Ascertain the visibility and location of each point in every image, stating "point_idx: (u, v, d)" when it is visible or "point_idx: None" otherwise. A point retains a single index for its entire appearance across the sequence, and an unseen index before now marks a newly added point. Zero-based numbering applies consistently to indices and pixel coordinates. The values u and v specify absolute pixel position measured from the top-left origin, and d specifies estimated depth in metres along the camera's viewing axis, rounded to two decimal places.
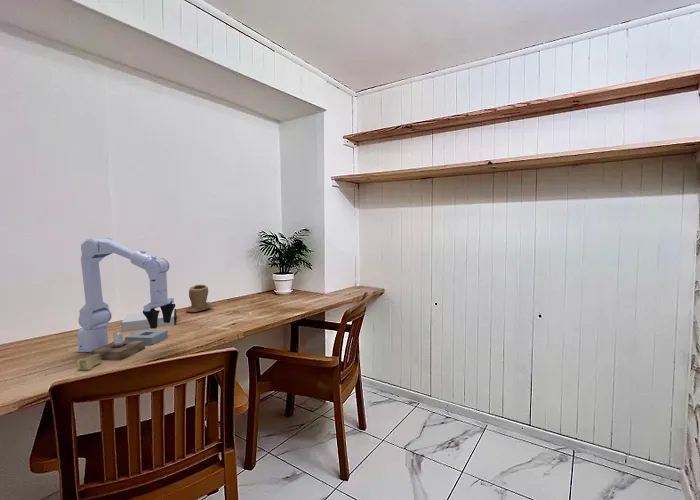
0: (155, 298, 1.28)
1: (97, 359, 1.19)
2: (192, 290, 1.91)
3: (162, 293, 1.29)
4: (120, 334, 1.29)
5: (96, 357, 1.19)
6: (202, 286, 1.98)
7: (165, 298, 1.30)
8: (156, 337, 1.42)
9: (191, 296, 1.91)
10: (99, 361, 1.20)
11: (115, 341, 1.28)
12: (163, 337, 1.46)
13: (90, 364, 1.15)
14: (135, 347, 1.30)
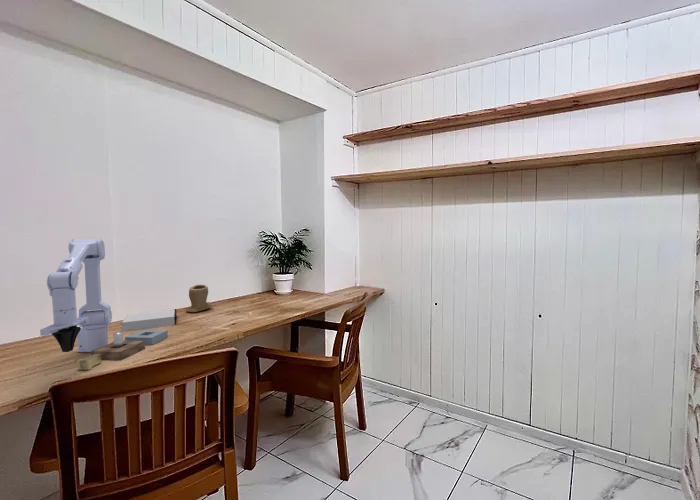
0: (58, 319, 1.06)
1: (97, 359, 1.19)
2: (192, 290, 1.91)
3: (67, 312, 1.07)
4: (120, 334, 1.29)
5: (96, 357, 1.19)
6: (202, 286, 1.98)
7: (72, 318, 1.08)
8: (156, 337, 1.42)
9: (191, 296, 1.91)
10: (99, 361, 1.20)
11: (115, 341, 1.28)
12: (163, 337, 1.46)
13: (90, 364, 1.15)
14: (135, 347, 1.30)
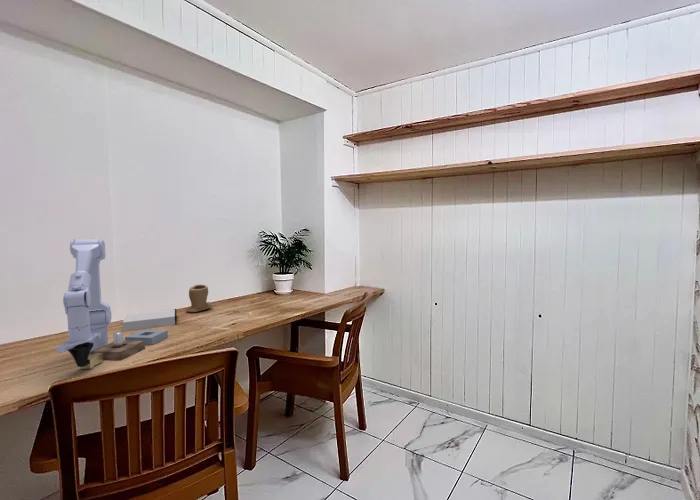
0: (73, 336, 1.11)
1: (99, 358, 1.20)
2: (192, 290, 1.91)
3: (81, 329, 1.12)
4: (120, 334, 1.29)
5: (98, 356, 1.19)
6: (202, 286, 1.98)
7: (86, 335, 1.13)
8: (156, 337, 1.42)
9: (191, 296, 1.91)
10: (101, 360, 1.20)
11: (115, 341, 1.28)
12: (163, 337, 1.46)
13: (92, 363, 1.16)
14: (135, 347, 1.30)
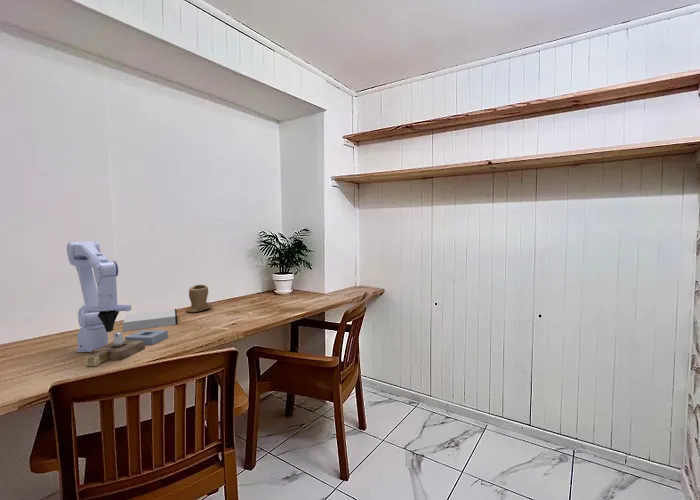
0: None
1: (105, 356, 1.22)
2: (192, 290, 1.91)
3: (99, 298, 1.22)
4: (120, 334, 1.29)
5: (103, 354, 1.22)
6: (202, 286, 1.98)
7: (103, 304, 1.22)
8: (156, 337, 1.42)
9: (191, 296, 1.91)
10: (106, 358, 1.23)
11: (115, 341, 1.28)
12: (163, 337, 1.46)
13: (98, 361, 1.18)
14: (135, 347, 1.30)
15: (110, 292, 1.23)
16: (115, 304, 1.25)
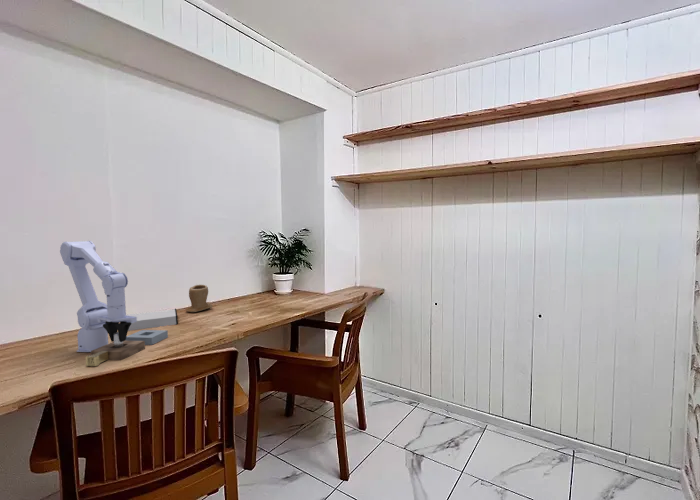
0: None
1: (105, 356, 1.22)
2: (192, 290, 1.91)
3: (107, 309, 1.27)
4: None
5: (103, 354, 1.22)
6: (202, 286, 1.98)
7: (110, 315, 1.26)
8: (156, 337, 1.42)
9: (191, 296, 1.91)
10: (106, 358, 1.23)
11: (115, 341, 1.28)
12: (163, 337, 1.46)
13: (98, 361, 1.18)
14: (135, 347, 1.30)
15: (121, 303, 1.28)
16: (122, 315, 1.28)
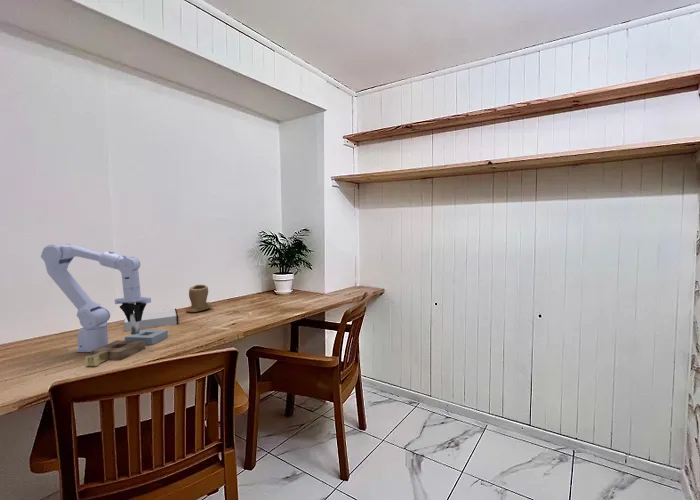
0: None
1: (105, 356, 1.22)
2: (192, 290, 1.91)
3: (123, 290, 1.34)
4: None
5: (103, 354, 1.22)
6: (202, 286, 1.98)
7: (126, 296, 1.33)
8: (156, 337, 1.42)
9: (191, 296, 1.91)
10: (106, 358, 1.23)
11: (131, 321, 1.35)
12: (163, 337, 1.46)
13: (98, 361, 1.18)
14: (135, 347, 1.30)
15: (139, 284, 1.36)
16: (137, 296, 1.35)
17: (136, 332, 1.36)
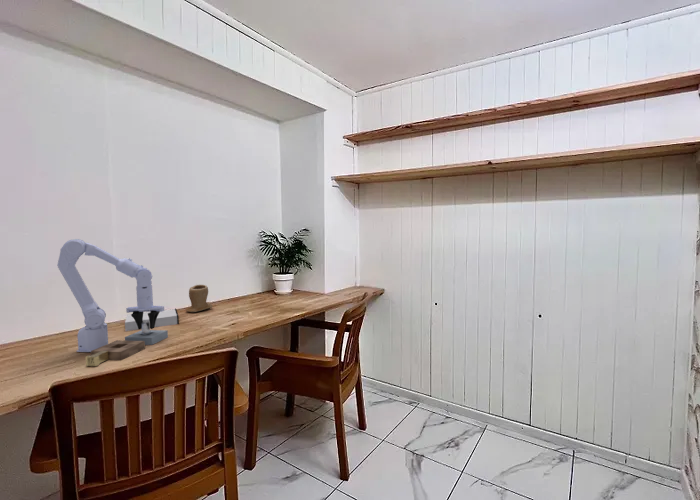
0: None
1: (105, 356, 1.22)
2: (192, 290, 1.91)
3: (138, 299, 1.41)
4: (148, 323, 1.43)
5: (103, 354, 1.22)
6: (202, 286, 1.98)
7: (140, 305, 1.41)
8: (156, 337, 1.42)
9: (191, 296, 1.91)
10: (106, 358, 1.23)
11: (144, 329, 1.42)
12: (163, 337, 1.46)
13: (98, 361, 1.18)
14: (135, 347, 1.30)
15: None
16: (151, 305, 1.43)
17: None
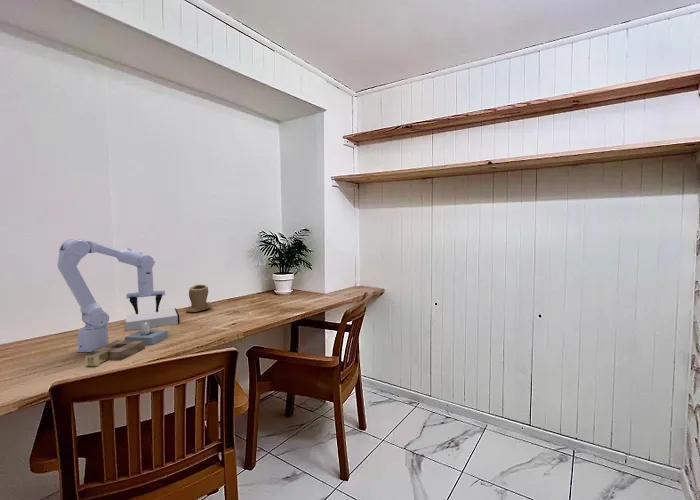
0: (138, 289, 1.48)
1: (105, 356, 1.22)
2: (192, 290, 1.91)
3: (141, 285, 1.47)
4: (148, 323, 1.43)
5: (103, 354, 1.22)
6: (202, 286, 1.98)
7: (144, 290, 1.47)
8: (156, 337, 1.42)
9: (191, 296, 1.91)
10: (106, 358, 1.23)
11: (144, 330, 1.42)
12: (163, 337, 1.46)
13: (98, 361, 1.18)
14: (135, 347, 1.30)
15: None
16: (152, 290, 1.50)
17: None
